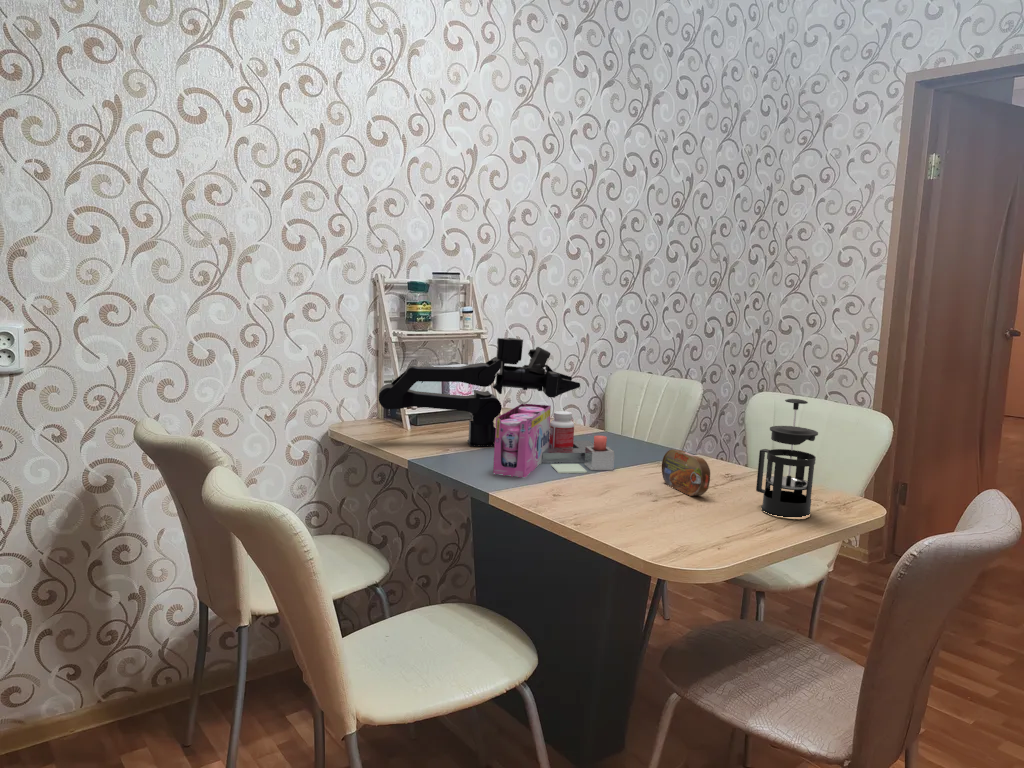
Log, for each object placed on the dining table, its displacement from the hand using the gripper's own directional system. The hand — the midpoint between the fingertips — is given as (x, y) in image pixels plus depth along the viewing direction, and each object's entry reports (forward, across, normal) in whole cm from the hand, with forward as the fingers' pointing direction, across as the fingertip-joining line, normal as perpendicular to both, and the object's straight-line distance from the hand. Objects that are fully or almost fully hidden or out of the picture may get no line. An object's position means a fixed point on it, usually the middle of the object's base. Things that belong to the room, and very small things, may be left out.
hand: (575, 381), depth 195 cm
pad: (-6, -27, +17) cm, 32 cm away
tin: (+15, -44, +15) cm, 49 cm away
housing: (+2, -25, +16) cm, 30 cm away
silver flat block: (-4, -14, +17) cm, 22 cm away
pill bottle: (-5, -12, +17) cm, 22 cm away
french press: (+30, -60, +13) cm, 68 cm away
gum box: (-17, -22, +18) cm, 33 cm away
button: (+1, -25, +12) cm, 27 cm away
